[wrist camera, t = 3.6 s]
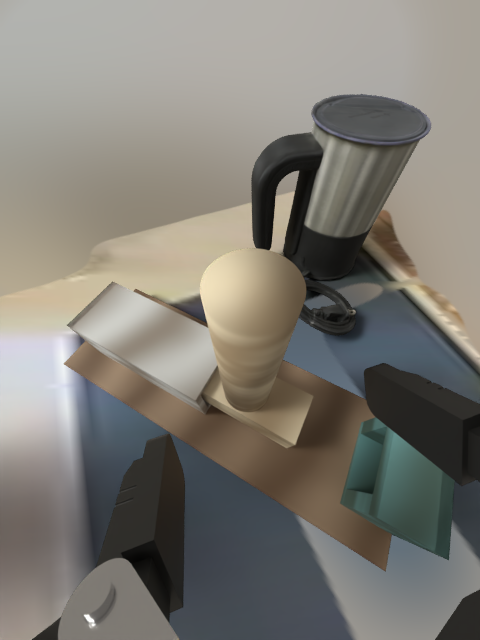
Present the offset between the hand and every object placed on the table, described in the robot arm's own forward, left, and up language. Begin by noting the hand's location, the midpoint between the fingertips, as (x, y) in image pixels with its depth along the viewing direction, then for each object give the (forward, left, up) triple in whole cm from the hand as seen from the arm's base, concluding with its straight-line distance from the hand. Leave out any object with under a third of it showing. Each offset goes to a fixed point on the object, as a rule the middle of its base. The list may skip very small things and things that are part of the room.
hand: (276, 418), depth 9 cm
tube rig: (-4, +2, -13) cm, 14 cm away
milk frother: (-1, +20, -13) cm, 24 cm away
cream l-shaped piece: (-7, +2, -10) cm, 13 cm away
